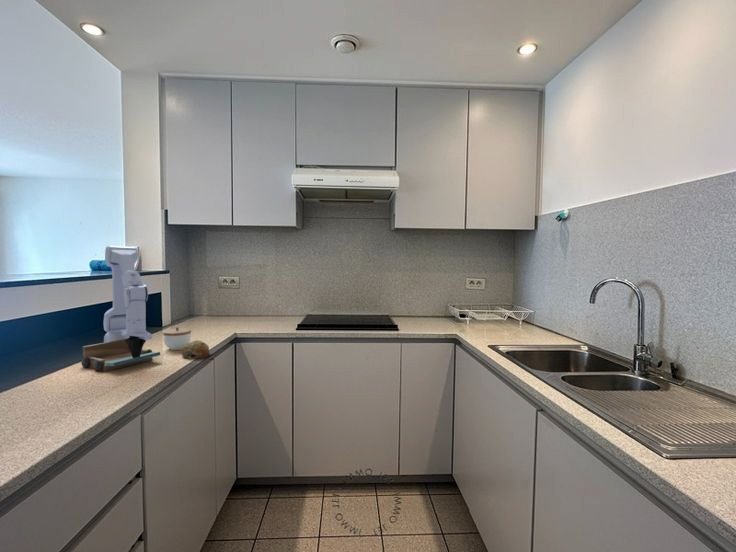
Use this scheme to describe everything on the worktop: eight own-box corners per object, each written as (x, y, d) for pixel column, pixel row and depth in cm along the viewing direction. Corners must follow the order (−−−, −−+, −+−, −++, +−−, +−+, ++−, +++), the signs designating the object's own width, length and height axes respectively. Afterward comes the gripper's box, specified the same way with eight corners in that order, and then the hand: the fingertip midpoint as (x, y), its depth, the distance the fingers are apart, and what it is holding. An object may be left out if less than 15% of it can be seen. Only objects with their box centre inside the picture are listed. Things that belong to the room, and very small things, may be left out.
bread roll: (180, 367, 133) (177, 351, 130) (186, 350, 142) (183, 335, 139) (207, 366, 136) (206, 350, 133) (211, 349, 145) (210, 334, 141)
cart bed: (79, 366, 121) (79, 347, 121) (132, 354, 137) (132, 337, 137) (101, 372, 115) (101, 352, 115) (154, 359, 131) (154, 341, 131)
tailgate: (105, 362, 116) (114, 362, 114) (151, 352, 130) (160, 352, 128) (106, 366, 116) (114, 366, 114) (152, 355, 130) (160, 355, 128)
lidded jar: (192, 344, 155) (192, 324, 155) (189, 350, 145) (189, 328, 145) (165, 346, 152) (165, 325, 151) (160, 352, 141) (160, 330, 141)
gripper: (111, 319, 120) (112, 357, 121) (136, 323, 114) (136, 363, 115) (132, 316, 127) (133, 352, 127) (157, 320, 121) (157, 358, 121)
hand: (136, 357), depth 122 cm, fingers closed, pressing on tailgate
